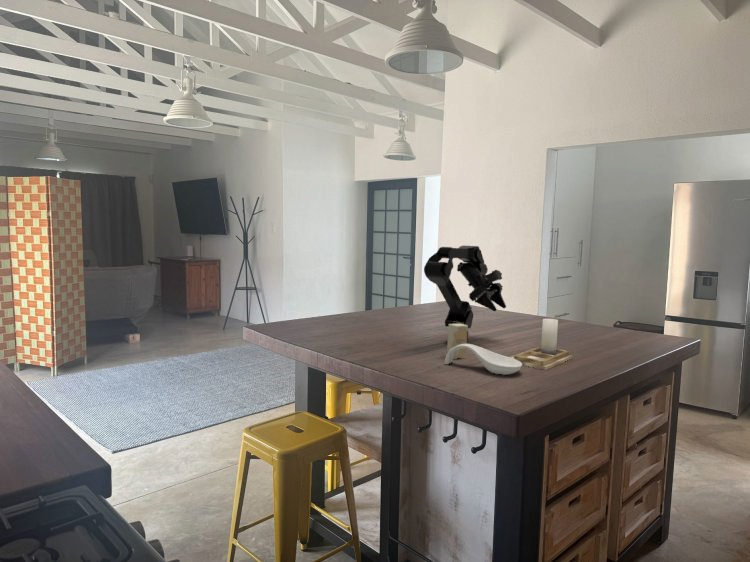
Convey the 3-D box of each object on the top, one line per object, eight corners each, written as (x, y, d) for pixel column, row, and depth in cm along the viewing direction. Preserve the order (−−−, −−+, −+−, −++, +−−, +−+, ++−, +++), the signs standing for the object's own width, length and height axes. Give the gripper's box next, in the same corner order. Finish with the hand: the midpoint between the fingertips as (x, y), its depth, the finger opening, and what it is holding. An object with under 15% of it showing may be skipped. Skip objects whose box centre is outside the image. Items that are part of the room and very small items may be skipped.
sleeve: (538, 355, 177) (541, 319, 176) (543, 352, 181) (545, 317, 180) (553, 357, 174) (555, 321, 173) (557, 354, 178) (559, 319, 177)
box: (453, 359, 173) (455, 326, 172) (446, 356, 177) (447, 323, 175) (466, 358, 175) (468, 325, 174) (459, 355, 179) (460, 322, 178)
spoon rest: (526, 371, 161) (527, 348, 160) (515, 381, 151) (516, 356, 150) (453, 360, 173) (454, 338, 172) (439, 367, 163) (439, 345, 162)
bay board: (504, 361, 172) (504, 354, 172) (533, 351, 187) (533, 344, 187) (545, 370, 162) (546, 362, 162) (572, 358, 178) (572, 351, 178)
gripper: (478, 263, 188) (506, 297, 183) (498, 261, 203) (525, 292, 198) (457, 284, 193) (484, 317, 188) (478, 280, 208) (504, 311, 203)
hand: (500, 309), depth 194 cm, fingers open, 9 cm apart
